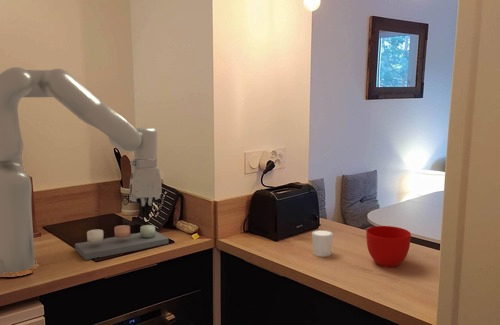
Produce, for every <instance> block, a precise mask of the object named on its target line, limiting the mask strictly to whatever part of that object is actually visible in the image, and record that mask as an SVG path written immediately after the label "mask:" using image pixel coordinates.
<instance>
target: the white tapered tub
mask: <svg viewBox="0 0 500 325" xmlns="http://www.w3.org/2000/svg"><path fill="white" fill-rule="evenodd" d="M333 238H334V233H333V232H332V231H331V230H323V229H318V230H313V231H312V232H311V239H312V240H311V241H312V250H313V255H314V256H316V257H330V256H331V255H332V247H333V240H334V239H333Z"/></svg>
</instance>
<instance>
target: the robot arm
mask: <svg viewBox="0 0 500 325" xmlns="http://www.w3.org/2000/svg"><path fill="white" fill-rule="evenodd" d="M22 98H54V99H56V101H58V102H59V103H60V104H61V105H63V107H65V108H66V109H68V111H70V112H71V113H72V114H73V115H74V116H75V117H77V118H78V119H79V120H81V121H82V122H84V123H86V124H87V125H89V126H92V127H94V128H95V129H97V130H99V131H100V132H102V133H104V135H106V136H107V137H108V141H109V143H110V145H111V146H112V147H113V148H115V149H118V150H123V151H124V152H133V160H131V161H130V162H129V163H130V164H129V165H130V166H133V167H132V168H131V173H130V178H129V201H131V202H133V203H134V202H135V203H137V204H138V205H139V213H140V216H141V217H143V218H145V219H146V218H149V217H150V214H151V206H152V204H153V203H154V202H155V201H156V200H159V199H161V195H162V188H163V187H162V177H161V172H160V170H161V169H160V167H158V166H157V164H158V161H157V160H158V131H157V129H156V128H154V127H137V128H136V127H134V126H133V125H132V124H131V123H130V122H129V121H127V120H126V119H125V118H124V117H123V116H122V115H120V114H119V113H118V112H116V111H115V110H114V109H112V108H111V107H109V106H108V104H106V103H104V101H102V100H101V99H99V98H98V97H97V96H96V95H94V94H93V93H92V92H91V91H90V90H89V89H88V88H86V86H84V85H83V84H82V83H81V82H80V81H79V80H77V78H75V77H74V76H73V75H72V74H71V73H69V72H68V71H67V70H64V69H62V68H54V69H43V70H42V69H41V70H39V69H34V70H33V69H25V68H23V67H19V66H15V67H10V68H6V69H5V70H3V71H1V72H0V274H3V273H4V272H5V273H6V272H7V273H9V272H18V271H23V270H27V269H29V268H31V267H33V266H34V265H35V260H36V258H35V257H36V256H35V243H34V241H35V240H34V228H33V223H34V222H33V213H32V212H33V211H32V209H33V208H32V193H33V192H32V189H33V188H32V180H31V178H30V176H29V174H28V173H27V171H26V170H25V169H24V164H23V163H24V161H23V157H22V154H23V150H24V142H23V138H22V132H21V128H20V120H19V108H18V106H19V104H20V101H21V99H22ZM3 275H4V274H3Z"/></svg>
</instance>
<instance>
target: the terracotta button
mask: <svg viewBox="0 0 500 325" xmlns="http://www.w3.org/2000/svg"><path fill="white" fill-rule="evenodd" d="M130 234H131V226H130V225H128V224H127V225H125V224H123V225H115V226H114V237H116V238H126V237H129V236H130Z"/></svg>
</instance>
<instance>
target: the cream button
mask: <svg viewBox="0 0 500 325" xmlns="http://www.w3.org/2000/svg"><path fill="white" fill-rule="evenodd" d="M86 239H87V241H86V242H89V243H98V242H102V241H103V240H104V239H105V238H104V230H103V229H98V228H97V229H90V230H87V232H86Z"/></svg>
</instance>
